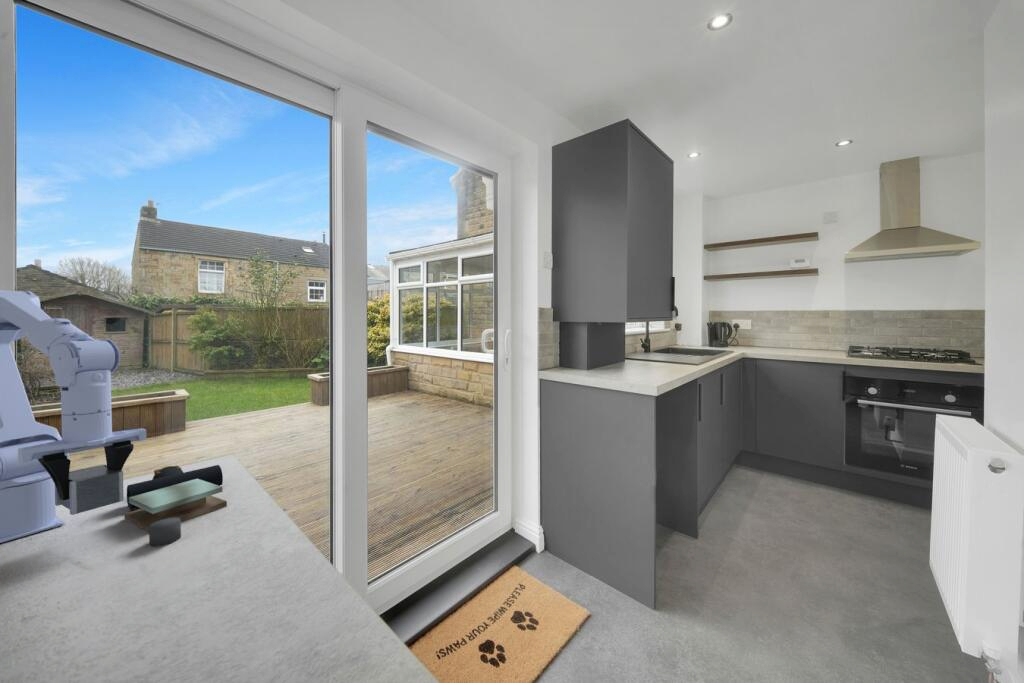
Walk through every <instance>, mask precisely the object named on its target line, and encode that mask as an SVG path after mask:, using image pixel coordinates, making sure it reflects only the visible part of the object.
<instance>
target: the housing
mask: <svg viewBox="0 0 1024 683" xmlns="http://www.w3.org/2000/svg"><path fill="white" fill-rule="evenodd" d="M124 492H125V491H124V471H123V470H122V471H114V470H112V469H109V468H107V464H104V463H103V464H100V465H96V466H95V465H94V466H91V467H90V466H89V467H85V468H81V469H76V470H71V471H70V470H69V495H70V499H68V500H61V499H60V498H59V494H58V491H57V488H56V486H55V507H56V506H57V507H60V506H63V507H64V508H66V509H68V510H69V514H70V515H71V516H74V515H77V514H81V513H85V512H88V511H92V510H95V509H98V508H99V509H100V508H102V507H107V506H110V505H115V504H116V503H120V502H123V501H125V500H124V497H125V496H124Z"/></svg>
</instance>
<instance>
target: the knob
mask: <svg viewBox="0 0 1024 683" xmlns="http://www.w3.org/2000/svg"><path fill="white" fill-rule="evenodd" d="M181 523H182V522H181V519H180V518H168V519H163V520H160V521H157V522H155V523H153V524H151V525H150V526H149V531H148V534H149V536H148V538H149V539H148V540H149V543H148V544H149V546H150V547H153V548H158V547H163V546H167V545H170V544H173V543H176V542H177V541H179V540H180V539H181V538H182V524H181Z"/></svg>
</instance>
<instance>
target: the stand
mask: <svg viewBox="0 0 1024 683" xmlns="http://www.w3.org/2000/svg"><path fill="white" fill-rule="evenodd" d="M219 493H223V486H218V485H215V484H212V483H209V482H206V481H203V480H200V479H194V480H190V481H187V482H183V483H180V484H176V485H172V486H169V487H165V488H162V489H158V490H154V491H151V492H147V493H143V494H140V495H136V496H133V497H129V503H130V504H132V505H135V506H137V507H139V508H138V509H135V510H131V511H130V512H127V513H124V520H126V521H128V522H129V523H131V524H133V525H136V527H139V528H141V529H143V530H145V531H147V532H149V526H150V525H151V524H153V523H155V522H157V521H160V520H163V519H168V518H180V519H181V523H182V522H185V521H189V520H191V519H193V518H196V517H199V516H203V515H205V514H208V513H211V512H213V511H217V510H220V509H222V507H223V508H225V507H228V502H227V500H225V499H222V498H219V497H217V496H213V495H216V494H219Z"/></svg>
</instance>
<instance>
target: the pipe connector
mask: <svg viewBox="0 0 1024 683" xmlns="http://www.w3.org/2000/svg"><path fill="white" fill-rule="evenodd" d="M153 472H154V473H153V474H154V475H153V477H152V479H149V480H146V481H145V480H144V481H140V482H137V483H136V482H135V483H132V484H128V485H127V486H126V502H127V507H128V509H129V510H130V511H134V510H138V509H140V508H139V507H137V506H135V505H132V504H130V503H129V497H133V496H136V495H140V494H143V493H147V492H151V491H154V490H158V489H162V488H165V487H169V486H172V485H176V484H180V483H183V482H187V481H190V480H194V479H200V480H203V481H206V482H209V483H212V484H215V485H218V486H220V485H222V486H223V482H224V481H223V480H224V477H223V470H222V467H221V466H220V464H216V465H211V466H207V467H202V468H198V469H194V470H189V471H185V472H184V471H183V469H182V467H180V466H178V464H177V465H176V464H175V465H168V466H164V467H162V468H157V469H154V471H153Z"/></svg>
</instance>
